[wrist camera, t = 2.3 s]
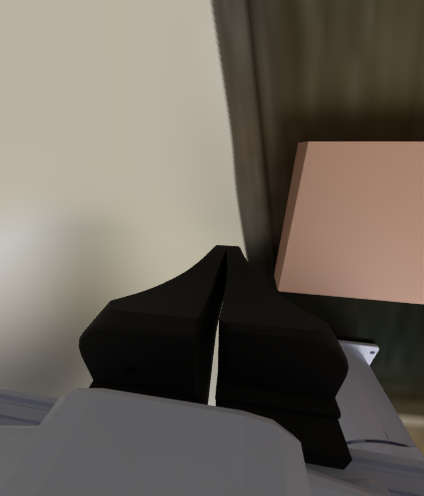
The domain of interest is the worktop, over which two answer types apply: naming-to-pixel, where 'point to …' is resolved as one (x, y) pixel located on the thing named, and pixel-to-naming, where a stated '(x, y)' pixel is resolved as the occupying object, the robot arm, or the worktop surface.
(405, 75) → the worktop surface
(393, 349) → the worktop surface
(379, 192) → the book
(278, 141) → the worktop surface
